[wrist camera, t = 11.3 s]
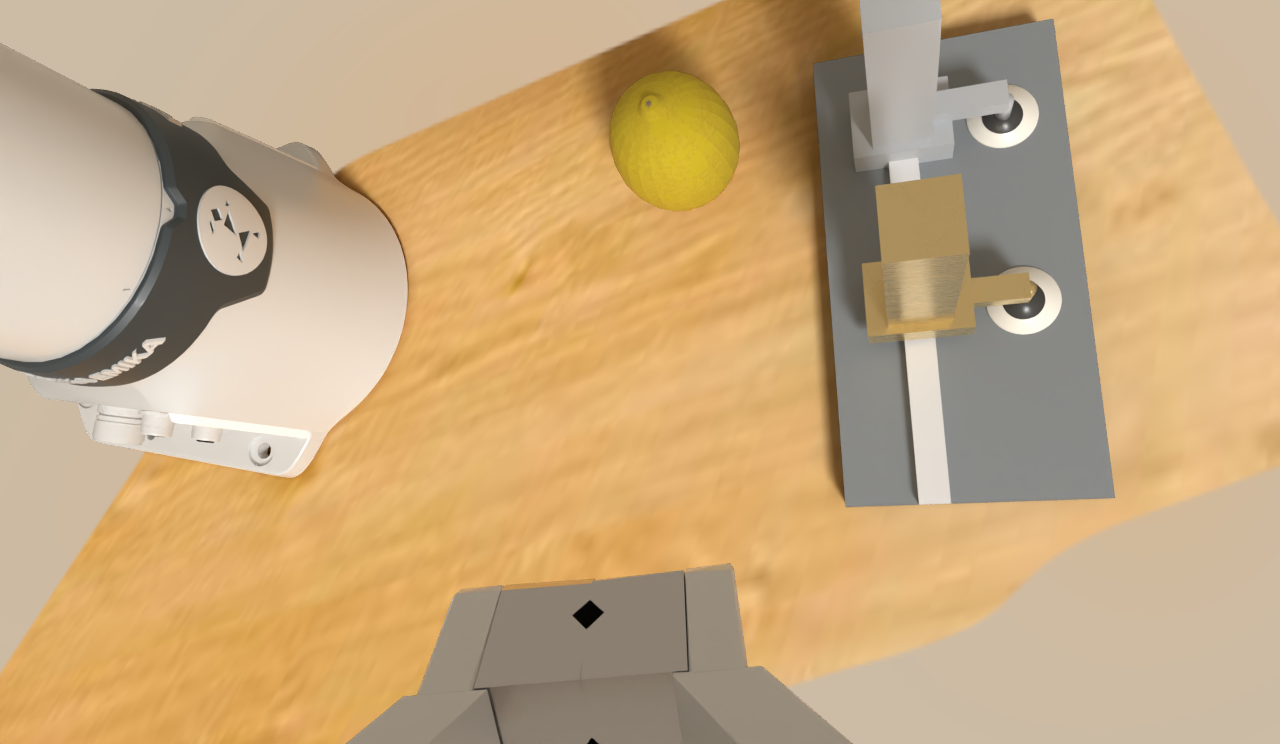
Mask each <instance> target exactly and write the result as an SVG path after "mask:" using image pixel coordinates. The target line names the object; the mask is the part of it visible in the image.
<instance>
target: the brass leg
mask: <svg viewBox="0 0 1280 744" xmlns="http://www.w3.org/2000/svg"><path fill="white" fill-rule="evenodd" d="M875 190H876V201H877V213H878V225H879V237H880V248H881V260H882V261H880V262H871V263H862V273H863V285H864V298H865V310H866V322H867V335H868V340H869V344H871V343H882V342H893V341H905V340H916V339H927V338H938V337H950V336H961V335H972V334H973V333H974V330H975V328H976V322H975V313H974V308H977V307H987V306H997V305H1008V304H1018V303H1028V302H1029V301H1030V300H1031V299H1032V297H1033V296H1034V294H1035V292H1036V291H1037V285H1036V283H1035V282H1033V281H1031V280H1030V278H1029V272H1026V273H1016V274H1007V275H998V276H988V277H979V278H971V274H970V264H969V255H970V251H969V241H968V231H967V222H966V212H965V203H964V193H963V183H962V174H955V175H948V176H941V177H934V178H927V179H919V180H912V181H905V182H898V183H891V184H884V185H877V186H875Z"/></svg>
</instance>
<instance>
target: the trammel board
mask: <svg viewBox="0 0 1280 744" xmlns="http://www.w3.org/2000/svg"><path fill="white" fill-rule="evenodd" d="M860 12H861V24H862V35H863V46H864V54H862V55H857V56H851V57H846V58H841V59H835V60H830V61H825V62H819V63H814V64H813V71H814V85H815V98H816V112H817V126H818V139H819V153H820V166H821V180H822V194H823V207H824V221H825V235H826V248H827V262H828V275H829V289H830V303H831V316H832V330H833V344H834V357H835V371H836V384H837V398H838V412H839V425H840V439H841V452H842V466H843V480H844V493H845V507H866V506H896V505H926V504H956V503H986V502H1016V501H1046V500H1075V499H1105V498H1115V494H1114V486H1113V478H1112V470H1111V462H1110V455H1109V447H1108V439H1107V431H1106V424H1105V416H1104V408H1103V400H1102V393H1101V385H1100V377H1099V369H1098V362H1097V354H1096V346H1095V338H1094V330H1093V323H1092V315H1091V307H1090V299H1089V292H1088V284H1087V276H1086V268H1085V261H1084V253H1083V245H1082V237H1081V230H1080V222H1079V214H1078V206H1077V198H1076V191H1075V183H1074V175H1073V167H1072V160H1071V152H1070V144H1069V136H1068V129H1067V121H1066V113H1065V105H1064V98H1063V90H1062V82H1061V74H1060V66H1059V59H1058V51H1057V43H1056V35H1055V28H1054V20H1053V19H1049V20H1044V21H1038V22H1033V23H1028V24H1022V25H1017V26H1012V27H1006V28H1001V29H996V30H990V31H985V32H980V33H974V34H969V35H964V36H958V37H953V38H947V39H942V40H941V26H942V14H941V4H940V0H860ZM955 174H962V183H963V193H964V203H965V212H966V222H967V231H968V241H969V251H970V255H969V264H970V274H971V278H979V277H988V276H998V275H1007V274H1016V273H1026V272H1029V278H1030V280H1031V281H1033V282H1035V283H1036V285H1037V291H1036V292H1035V294H1034V296H1033V297H1032V299H1031V300H1030V301H1029V302H1028V303H1018V304H1008V305H997V306H987V307H977V308H974V313H975V322H976V328H975V330H974V333H973V334H972V335H961V336H950V337H938V338H927V339H916V340H905V341H893V342H882V343H871V344H869V340H868V335H867V322H866V310H865V298H864V285H863V273H862V263H871V262H880V261H882V260H881V248H880V237H879V225H878V213H877V201H876V190H875V186H877V185H884V184H891V183H898V182H905V181H912V180H919V179H927V178H934V177H941V176H948V175H955Z"/></svg>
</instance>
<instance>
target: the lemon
mask: <svg viewBox="0 0 1280 744" xmlns="http://www.w3.org/2000/svg"><path fill="white" fill-rule="evenodd" d="M609 141H610V148H611V151H612V155H613V159H614V163H615V165H616V168H617V170H618V171H619V173H620V175H621V176H622V178H623V180H624V182H625V183H626V185H627V186H628V187H629V188H630V189H631V190H632V191H633V192H634V193H635V194H636V195H637V196H639V197H640V198H641V199H642V200H644V201H646V202H648V203H650V204H652V205H654V206H656V207H658V208H661V209H666V210H671V211H688V210H692V209H695V208H699V207H702V206H704V205H705V204H707V203H709V202H711V201H712V200H714V199H715V198H716V197H717V196H718V195H719V194H721V193H722V192H723V191H724V189H725V188H726V187H727V185H728V184H729V182H730V181H731V179H732V177H733V175H734V172H735V169H736V167H737V164H738V157H739V149H740V142H739V136H738V130H737V125H736V122H735V120H734V118H733V116H732V113H731V111H730V109H729V107H728V105H727V104H726V103H725V101H724V100H723V99H722V98H721V97H720V96H719V94H718V93H717V92H716V91H715V90H714V89H713V88H712V87H711V86H709V85H708V84H706V83H705V82H703V81H702V80H700V79H698V78H697V77H695V76H693V75H689V74H686V73H682V72H678V71H662V72H658V73H653V74H650V75H647V76H645V77H643V78H641V79H639V80H638V81H636V82H635V83H634V84H633V85H631V86H630V87H629V88H628V89H627V90H626V91H625V93H624V94H623V95H622V96H621V97H620V99H619V101H618V103H617V105H616V107H615V109H614V111H613V114H612V118H611V122H610V138H609Z"/></svg>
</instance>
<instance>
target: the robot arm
mask: <svg viewBox="0 0 1280 744" xmlns="http://www.w3.org/2000/svg"><path fill="white" fill-rule="evenodd" d="M407 297H408V282H407V271H406V265H405V260H404V256H403V252H402V249H401V246H400V243H399V241H398V238H397V236H396V234H395V232H394V230H393V228H392V226H391V225H390V223H389V222H388V220H387V219H386V217H385V216H384V215H383V214H382V212H381V211H380V210H379V209H378V208H377V207H376V206H375V205H374V204H373V203H372V202H370V201H369V200H368V199H367V198H365V197H364V196H362V195H361V194H359V193H357V192H355V191H354V190H352V189H350V188H348V187H347V186H345V185H344V184H342V183H341V182H339V181H338V180H337V179H336V178H335V176H334V174H333V173H332V171H331V169H330V168H329V166H328V165H327V163H326V161H325V160H324V159H323V157H322V156H321V155H320V154H319V152H317V151H316V150H315V149H313V148H311V147H309V146H306V145H304V144H302V143H298V142H294V143H290V144H287V145H284V146H282V147H280V148H277V149H275V148H273V147H271V146H269V145H266V144H264V143H262V142H260V141H258V140H255V139H253V138H251V137H249V136H246V135H244V134H242V133H240V132H237V131H235V130H233V129H231V128H228V127H226V126H224V125H222V124H219V123H217V122H215V121H212V120H210V119H207V118H202V117H192V118H191V119H190V121H187V122H182V123H180V122H179V121H177V120H175V119H173V118H172V116H170V115H168V114H167V113H165V112H163V111H161V110H159V109H157V108H155V107H153V106H150V105H148V104H145V103H143V102H137V101H136V100H132V99H130V98H128V97H126V96H123V95H121V94H119V93H116V92H112V91H108V90H101V89H88V88H86V87H84V86H82V85H80V84H78V83H76V82H74V81H73V80H71V79H69V78H67V77H65V76H63V75H61V74H59V73H57V72H55V71H53V70H51V69H49V68H48V67H46V66H44V65H42V64H40V63H38V62H36V61H34V60H32V59H30V58H28V57H26V56H24V55H22V54H21V53H18V52H17V51H15V50H13V49H11V48H9V47H7V46H5V45H3V44H1V43H0V364H2V365H5V366H7V367H9V368H12V369H14V370H17V371H19V372H21V373H23V374H25V375H27V377H28V379H29V381H30V383H31V385H32V387H33V388H34V390H35V391H36V392H37V393H38V394H39V395H40V396H41V397H43V398H46V399H52V400H60V401H67V402H76V403H77V405H78V409H79V412H80V416H81V419H82V422H83V425H84V427H85V429H86V432H87V434H88V435H89V437H90V438H91V439H92V440H94V441H96V442H99V443H104V444H109V445H114V446H119V447H124V448H129V449H135V450H140V451H145V452H151V453H156V454H161V455H167V456H172V457H177V458H183V459H188V460H194V461H199V462H204V463H210V464H215V465H220V466H226V467H231V468H237V469H242V470H247V471H253V472H258V473H263V474H269V475H274V476H280V477H285V478H291V477H295V476H298V475H299V474H301V473H302V472H303V471H304V470H305V469H306V468H307V466H308V465H309V464H310V462H311V461H312V459H313V458H314V456H315V454H316V453H317V451H318V449H319V447H320V446H321V444H322V442H323V440H324V438H325V436H326V434H327V433H328V432H329V430H330V429H331V428H332V427H333V426H334V425H335V424H336V423H337V422H338V421H339V420H341V419H342V418H343V417H344V416H345V415H347V414H348V413H349V412H350V411H351V410H353V409H354V408H355V407H356V406H357V405H358V404H359V403H360V402H361V401H362V400H363V399H364V398H365V397H366V396H367V395H368V394H369V393H370V391H371V390H372V389H373V388H374V386H375V385H376V384H377V382H378V381H379V380H380V378H381V377H382V375H383V373H384V372H385V370H386V368H387V367H388V365H389V363H390V361H391V359H392V357H393V354H394V352H395V350H396V347H397V345H398V342H399V339H400V336H401V333H402V329H403V325H404V321H405V315H406V308H407ZM269 446H270V447H271V453H270V455H269V456H268V453H267V452H268V448H269ZM346 744H852V743H851V742H850V741H849V740H848V739H846V738H845V737H844V736H843V735H842V734H841V733H840V732H838V731H837V730H836V729H835V728H834V727H833V726H831V725H830V724H829V723H828V722H827V721H826V720H824V719H823V718H822V717H821V716H820V715H818V714H817V713H816V712H815V711H814V710H813V709H812V708H810V707H809V706H808V705H807V704H806V703H805V702H803V701H802V700H801V699H800V698H799V697H798V696H796V695H795V694H794V693H793V692H792V691H791V690H789V689H788V688H787V687H786V686H785V685H784V684H782V683H781V682H780V681H779V680H778V679H777V678H775V677H774V676H773V675H772V674H771V673H769V672H768V671H767V670H766V669H765V668H764V667H762V666H757V667H748V666H747V659H746V651H745V644H744V637H743V630H742V623H741V616H740V609H739V602H738V595H737V588H736V581H735V574H734V568H733V567H732V565H731V564H730V563H729V564H721V565H713V566H705V567H697V568H690V569H686V571H684V570H682V571H673V572H663V573H654V574H645V575H635V576H626V577H616V578H607V579H598V580H596V579H583V580H569V581H555V582H541V583H527V584H513V585H506V586H502V585H500V586H489V587H478V588H468V589H461V590H460V591H459V592H457V593H456V594H455V595H454V597H453V599H452V602H451V604H450V607H449V610H448V613H447V615H446V618H445V621H444V623H443V626H442V629H441V631H440V634H439V637H438V640H437V642H436V645H435V648H434V650H433V653H432V656H431V658H430V661H429V664H428V667H427V669H426V672H425V675H424V677H423V680H422V683H421V686H420V688H419V691H418V694H417V695H414V696H404V697H402V698H401V699H400V700H398V701H397V702H396V703H395V704H393V705H392V706H391V707H390V708H389V709H387V710H386V711H385V712H384V713H383V714H381V715H380V716H379V717H378V718H377V719H375V720H374V721H373V722H372V723H370V724H369V725H368V726H367V727H366V728H364V729H363V730H362V731H361V732H360V733H358V734H357V735H356V736H355V737H353V738H352V739H351V740H350V741H349V742H347V743H346Z"/></svg>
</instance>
